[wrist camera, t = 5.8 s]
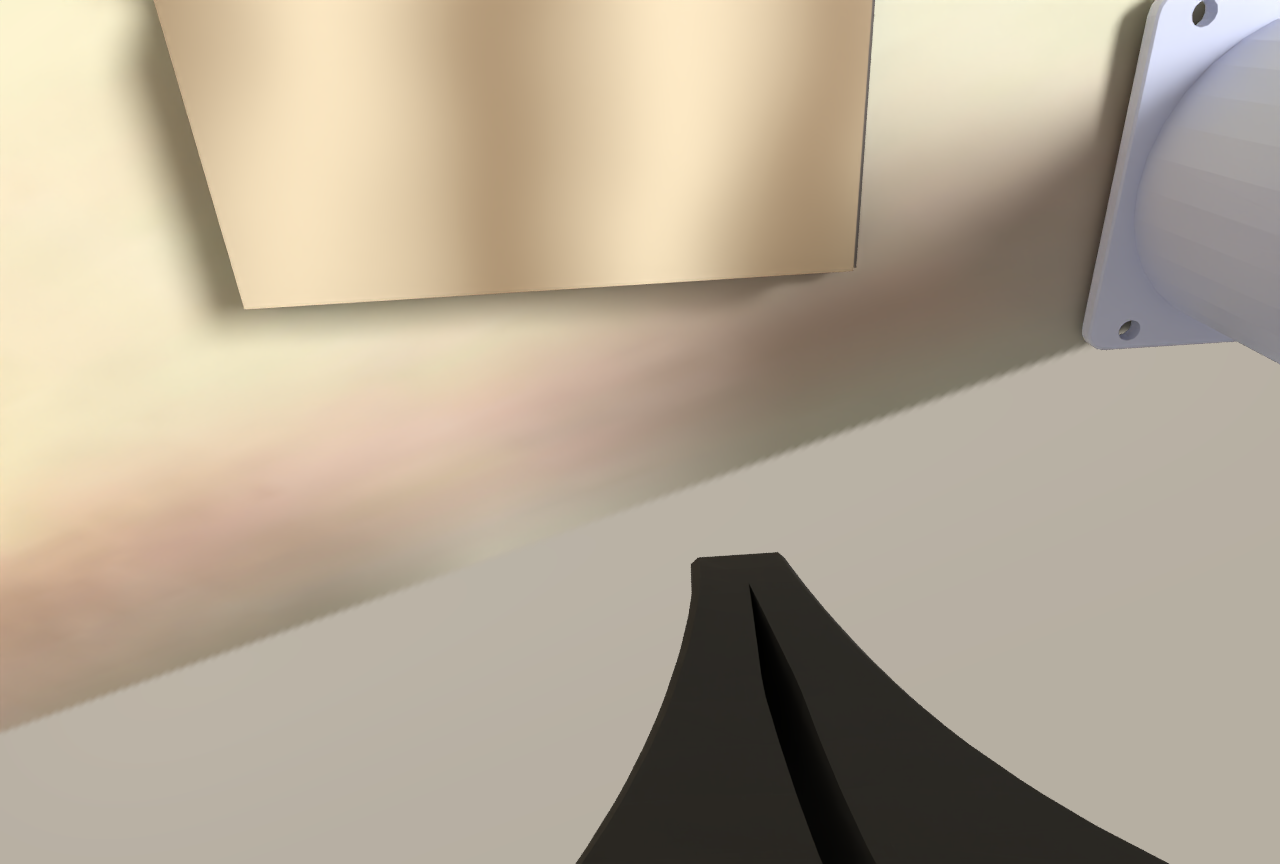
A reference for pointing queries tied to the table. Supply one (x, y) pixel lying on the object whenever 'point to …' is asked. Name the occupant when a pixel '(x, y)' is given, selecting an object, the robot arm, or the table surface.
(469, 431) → the table surface
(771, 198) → the board
